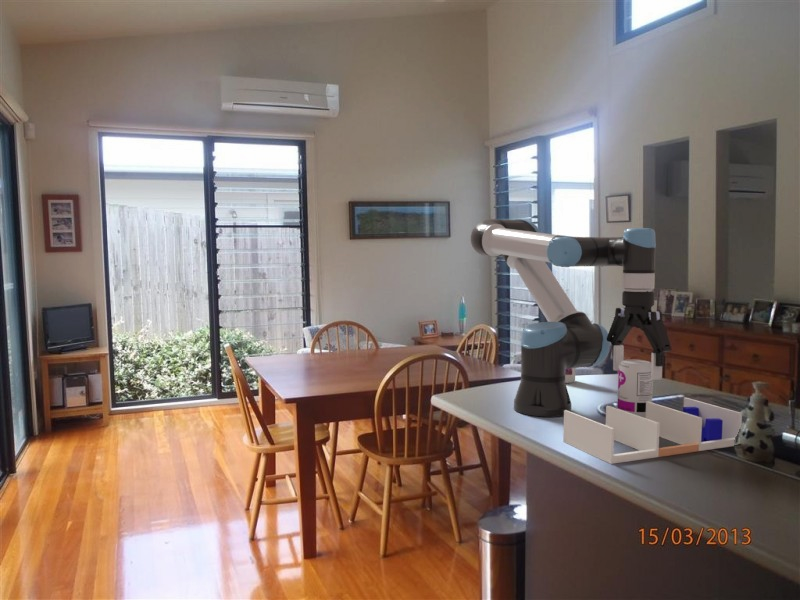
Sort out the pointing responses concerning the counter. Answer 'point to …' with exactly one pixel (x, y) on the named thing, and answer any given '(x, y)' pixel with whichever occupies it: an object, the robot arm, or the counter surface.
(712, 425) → the blue notched cradle block
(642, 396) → the supplement can
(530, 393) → the robot arm
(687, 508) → the counter surface
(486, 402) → the counter surface
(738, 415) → the can rack
